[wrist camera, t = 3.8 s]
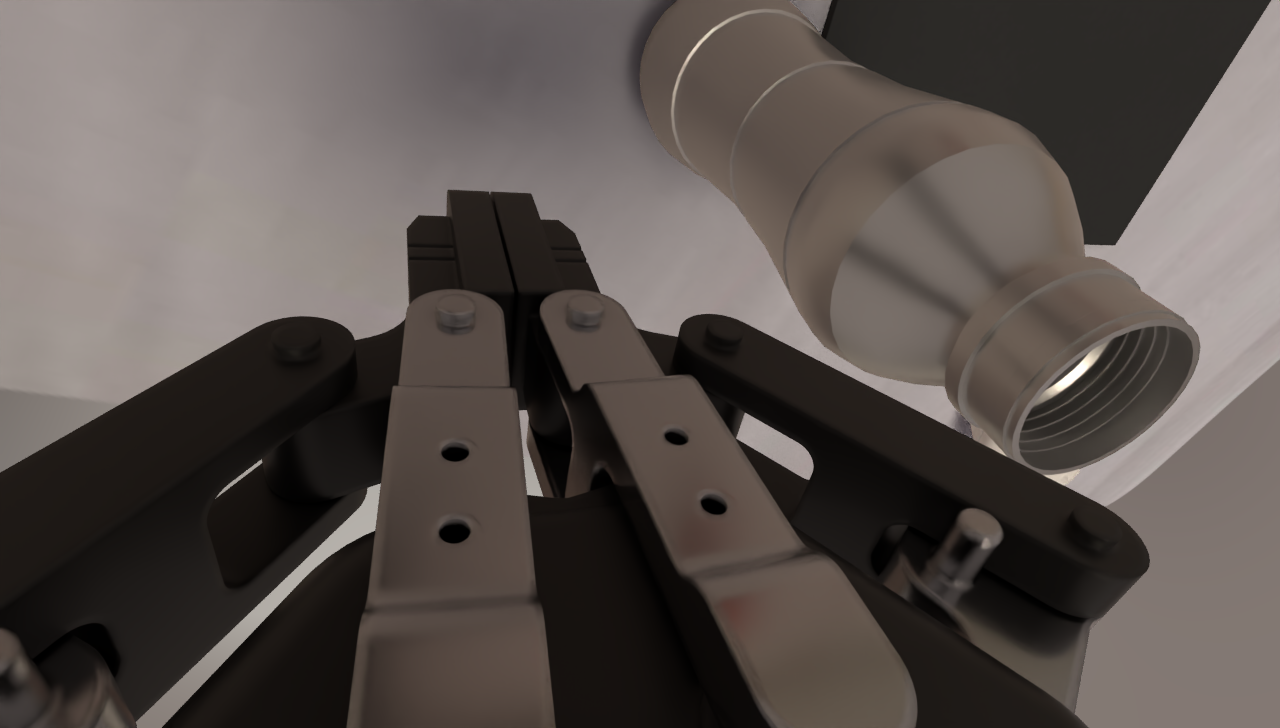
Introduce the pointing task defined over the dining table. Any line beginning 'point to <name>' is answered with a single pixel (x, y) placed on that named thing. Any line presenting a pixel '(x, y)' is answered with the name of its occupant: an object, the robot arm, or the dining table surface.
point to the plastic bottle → (916, 233)
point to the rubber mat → (1063, 76)
